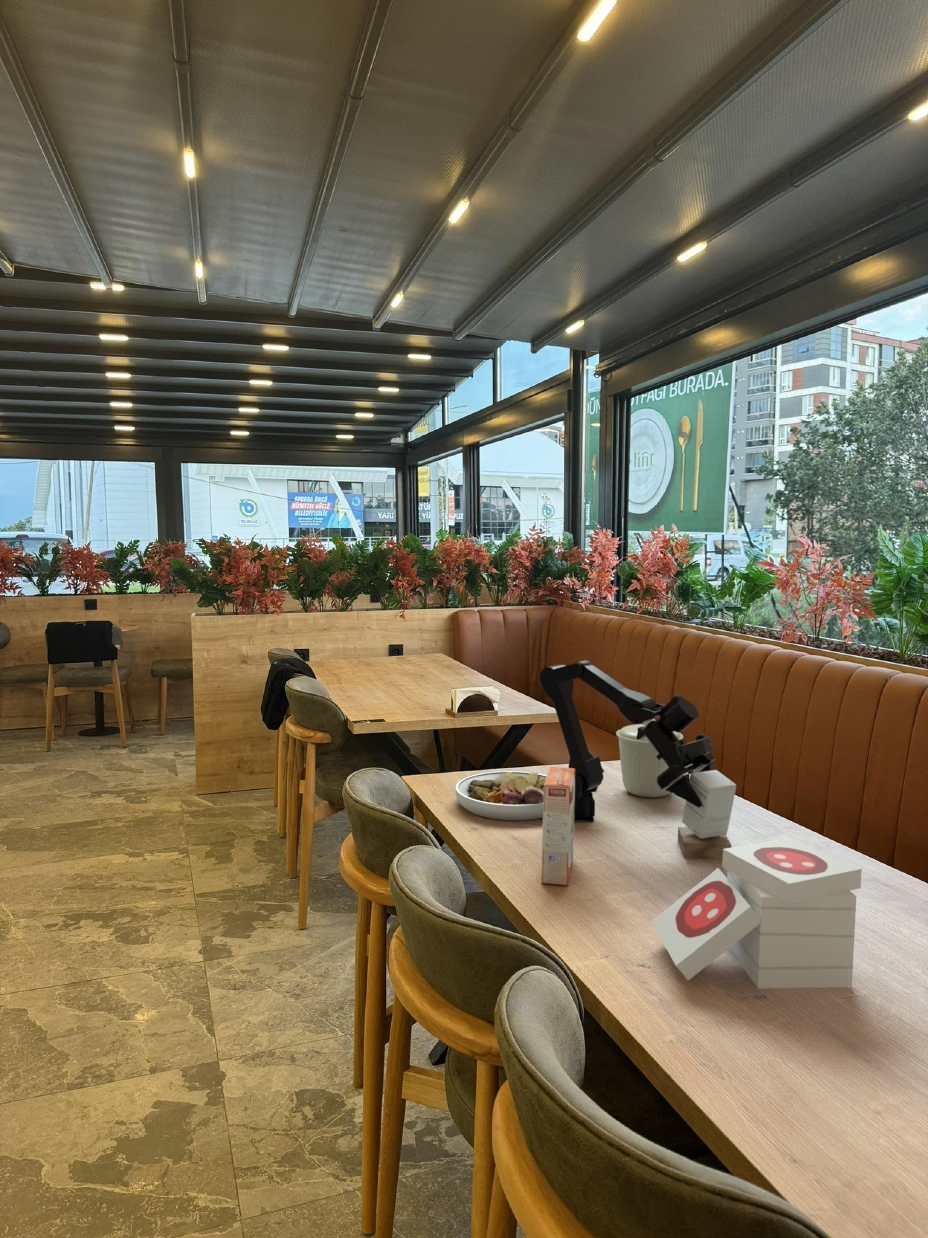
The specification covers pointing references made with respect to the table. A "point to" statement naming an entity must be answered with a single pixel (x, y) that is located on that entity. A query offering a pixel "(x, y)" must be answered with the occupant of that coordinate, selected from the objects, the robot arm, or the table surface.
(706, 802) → the supplement box
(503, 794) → the bowl
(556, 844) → the cracker box
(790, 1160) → the table surface
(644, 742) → the canister
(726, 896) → the pizza boxes
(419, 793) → the table surface
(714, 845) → the walnut riser block
